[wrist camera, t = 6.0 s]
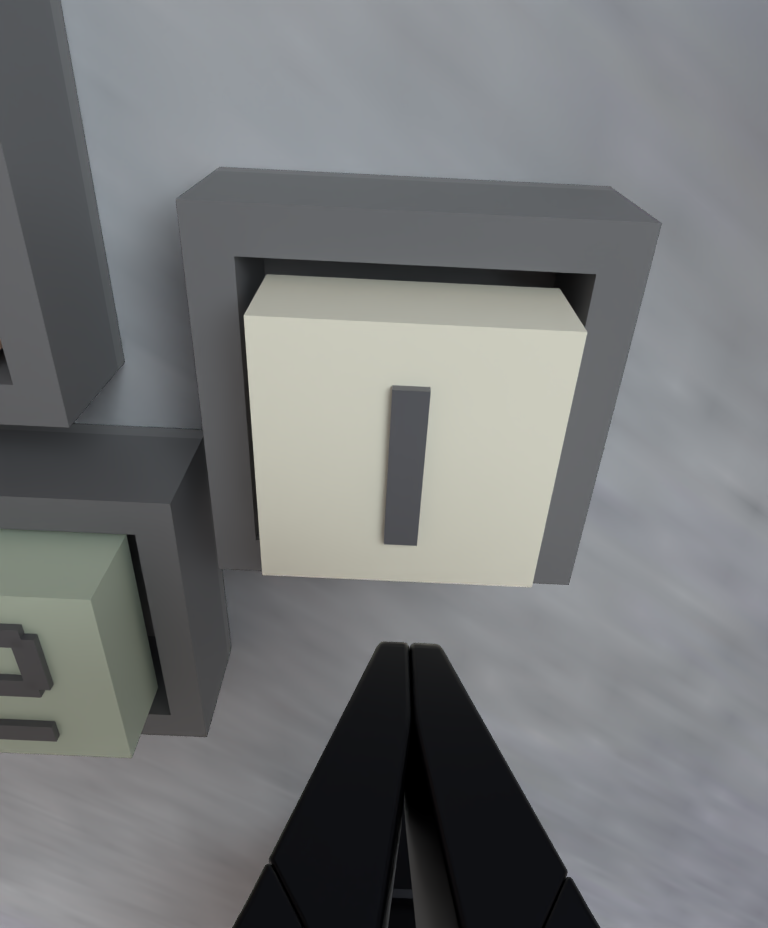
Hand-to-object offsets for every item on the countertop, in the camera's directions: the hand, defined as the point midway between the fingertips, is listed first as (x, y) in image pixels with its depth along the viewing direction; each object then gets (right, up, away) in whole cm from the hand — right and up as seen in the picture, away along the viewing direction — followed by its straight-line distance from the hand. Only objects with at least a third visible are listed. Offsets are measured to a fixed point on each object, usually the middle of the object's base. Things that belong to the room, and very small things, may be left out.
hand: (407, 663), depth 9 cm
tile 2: (-10, -1, +10) cm, 14 cm away
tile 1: (0, +4, +6) cm, 7 cm away
